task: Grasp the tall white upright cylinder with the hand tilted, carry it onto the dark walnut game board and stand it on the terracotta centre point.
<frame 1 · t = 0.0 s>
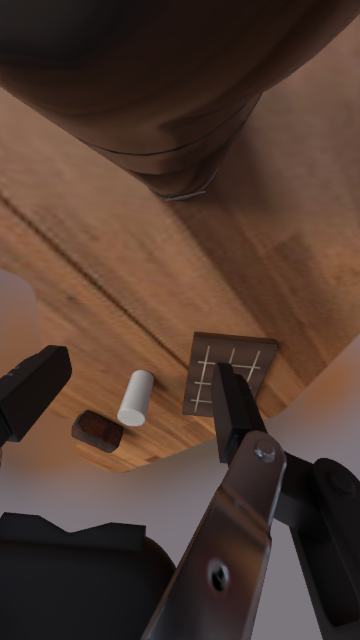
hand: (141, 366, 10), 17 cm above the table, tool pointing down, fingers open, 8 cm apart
white upright cylinder: (142, 378, 35), on the table
board: (221, 378, 34), on the table
brick: (102, 420, 43), on the table
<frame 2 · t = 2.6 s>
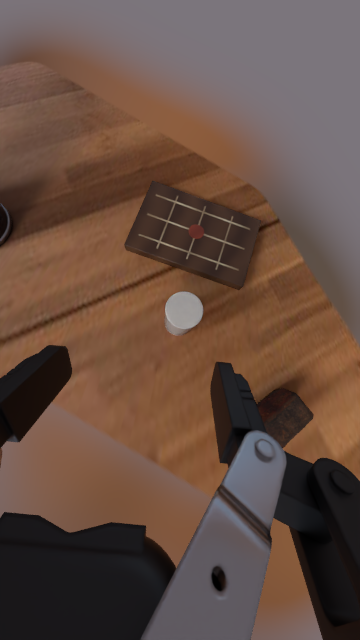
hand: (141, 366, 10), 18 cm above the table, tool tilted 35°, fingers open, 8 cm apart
white upright cylinder: (178, 321, 29), on the table
board: (194, 237, 31), on the table
brick: (258, 418, 27), on the table
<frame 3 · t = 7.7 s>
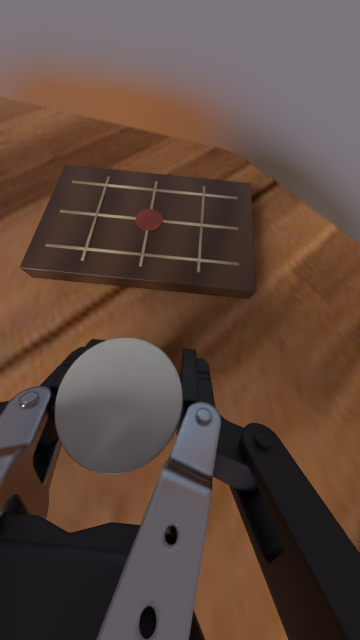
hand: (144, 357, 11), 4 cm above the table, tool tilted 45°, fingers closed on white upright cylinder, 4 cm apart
white upright cylinder: (148, 389, 14), on the table, touching gripper
board: (151, 232, 19), on the table
when the fingers open (6 cm above the table, at t = 15.1 s): white upright cylinder stays where it is, resting on board.
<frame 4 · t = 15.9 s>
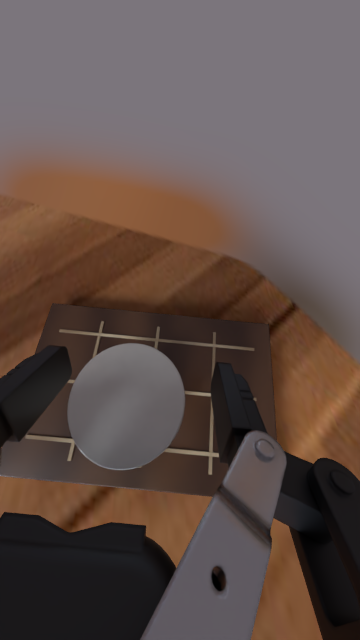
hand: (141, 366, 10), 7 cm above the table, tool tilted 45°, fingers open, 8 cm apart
white upright cylinder: (151, 390, 14), point 2 cm above the table, touching board
board: (152, 388, 16), on the table
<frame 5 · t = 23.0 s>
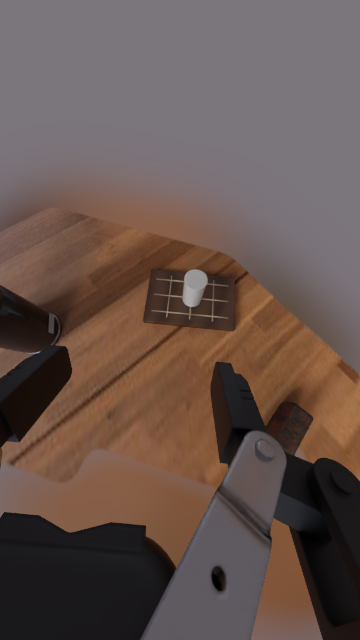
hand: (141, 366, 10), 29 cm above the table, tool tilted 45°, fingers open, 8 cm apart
white upright cylinder: (191, 298, 41), point 2 cm above the table, touching board
board: (190, 300, 43), on the table
brick: (275, 429, 35), on the table
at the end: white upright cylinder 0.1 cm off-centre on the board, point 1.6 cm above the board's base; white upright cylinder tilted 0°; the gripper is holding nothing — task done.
